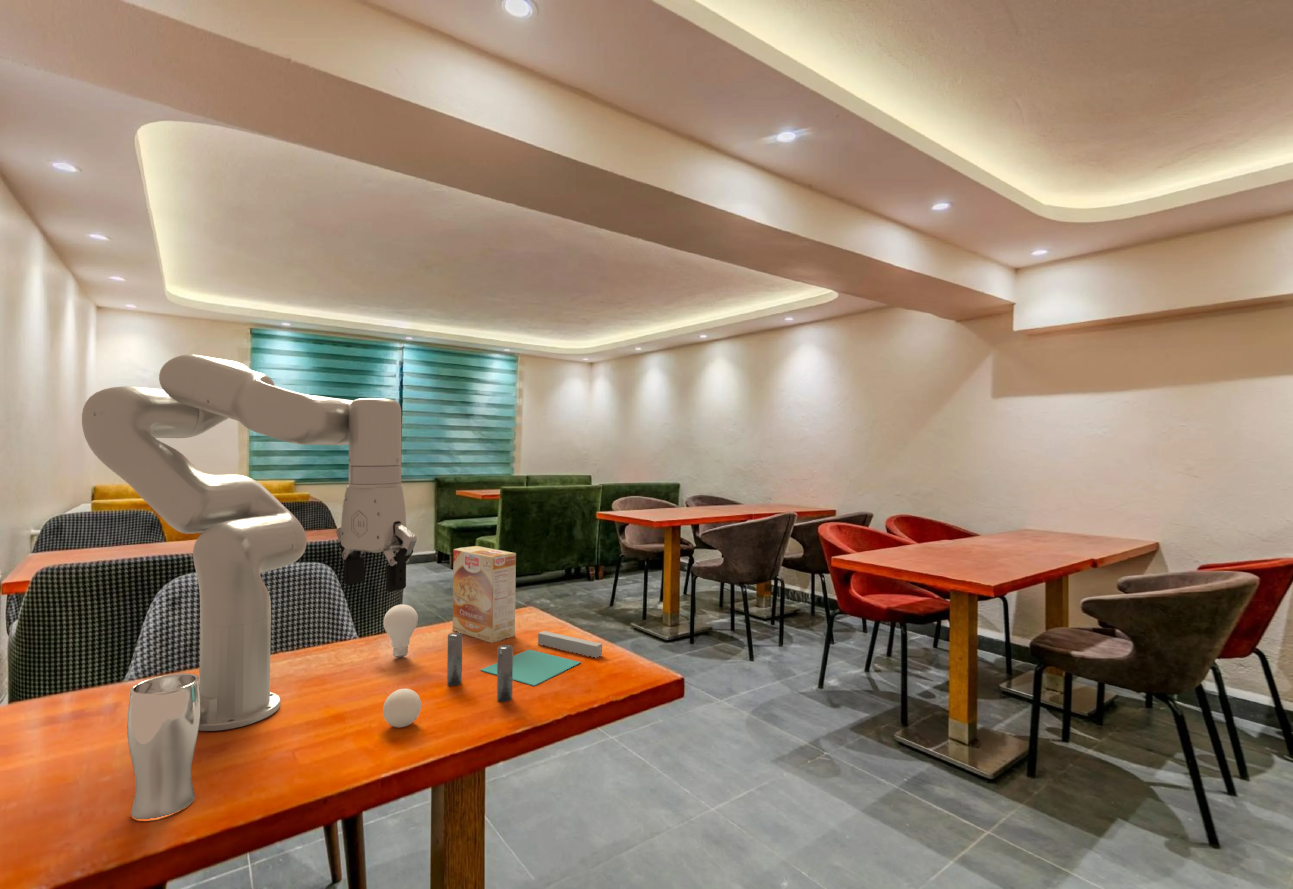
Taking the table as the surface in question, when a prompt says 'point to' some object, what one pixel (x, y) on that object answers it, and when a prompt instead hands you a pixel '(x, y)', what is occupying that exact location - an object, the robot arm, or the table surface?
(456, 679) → the left post
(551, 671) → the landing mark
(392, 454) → the robot arm
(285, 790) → the table surface
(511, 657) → the right post
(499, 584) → the coffeecake box
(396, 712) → the ball
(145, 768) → the beer glass
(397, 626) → the light bulb
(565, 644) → the stopper wall
